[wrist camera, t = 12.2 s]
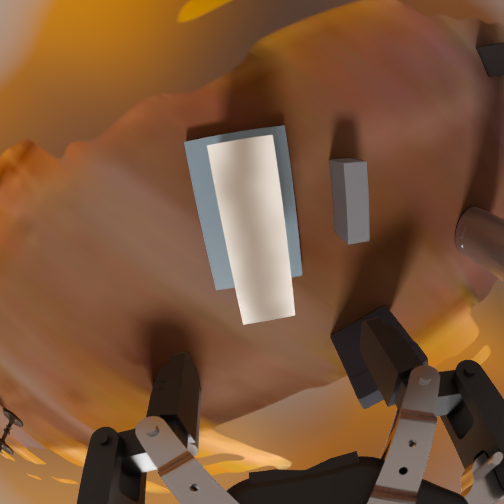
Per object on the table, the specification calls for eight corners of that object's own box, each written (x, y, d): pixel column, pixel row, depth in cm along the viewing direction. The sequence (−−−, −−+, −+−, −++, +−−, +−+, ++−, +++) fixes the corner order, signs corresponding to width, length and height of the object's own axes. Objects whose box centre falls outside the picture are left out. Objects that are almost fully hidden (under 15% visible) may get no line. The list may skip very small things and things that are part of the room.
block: (349, 157, 34) (366, 161, 29) (354, 228, 38) (369, 240, 33) (329, 159, 34) (343, 163, 29) (334, 231, 38) (348, 244, 33)
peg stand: (282, 125, 32) (298, 121, 24) (299, 270, 40) (315, 302, 32) (186, 142, 32) (171, 142, 24) (216, 284, 40) (214, 320, 32)
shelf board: (268, 135, 25) (272, 134, 22) (289, 300, 32) (295, 315, 29) (209, 144, 25) (206, 145, 22) (242, 308, 32) (243, 324, 29)
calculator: (336, 348, 47) (364, 412, 33) (328, 333, 45) (358, 400, 31) (389, 318, 45) (430, 374, 31) (384, 301, 43) (428, 358, 30)
